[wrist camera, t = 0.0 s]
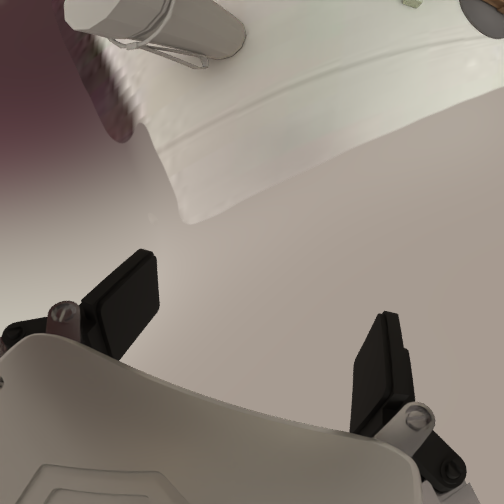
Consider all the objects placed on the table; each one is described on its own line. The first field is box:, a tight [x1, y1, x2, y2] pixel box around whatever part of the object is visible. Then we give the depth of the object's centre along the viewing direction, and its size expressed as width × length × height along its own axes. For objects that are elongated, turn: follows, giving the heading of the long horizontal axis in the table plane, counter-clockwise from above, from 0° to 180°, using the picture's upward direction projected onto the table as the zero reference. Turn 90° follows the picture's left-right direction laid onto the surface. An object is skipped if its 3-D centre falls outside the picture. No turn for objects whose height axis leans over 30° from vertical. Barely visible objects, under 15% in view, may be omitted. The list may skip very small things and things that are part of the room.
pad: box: [460, 0, 504, 39], centre depth 19 cm, size 9×9×1 cm
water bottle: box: [64, 0, 246, 69], centre depth 23 cm, size 9×8×25 cm
